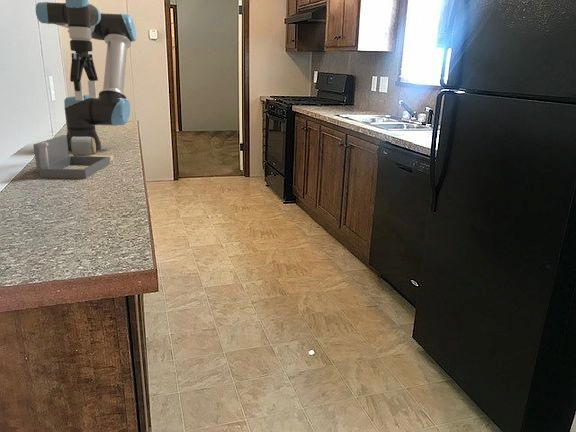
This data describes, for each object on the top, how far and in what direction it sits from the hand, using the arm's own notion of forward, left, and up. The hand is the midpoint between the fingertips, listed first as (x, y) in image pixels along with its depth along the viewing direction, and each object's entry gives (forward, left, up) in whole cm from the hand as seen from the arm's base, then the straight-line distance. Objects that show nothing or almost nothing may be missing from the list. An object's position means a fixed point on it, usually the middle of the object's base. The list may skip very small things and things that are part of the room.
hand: (86, 99), depth 180 cm
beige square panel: (0, 0, -24) cm, 24 cm away
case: (+20, +2, -24) cm, 31 cm away
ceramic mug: (0, 0, -22) cm, 23 cm away
